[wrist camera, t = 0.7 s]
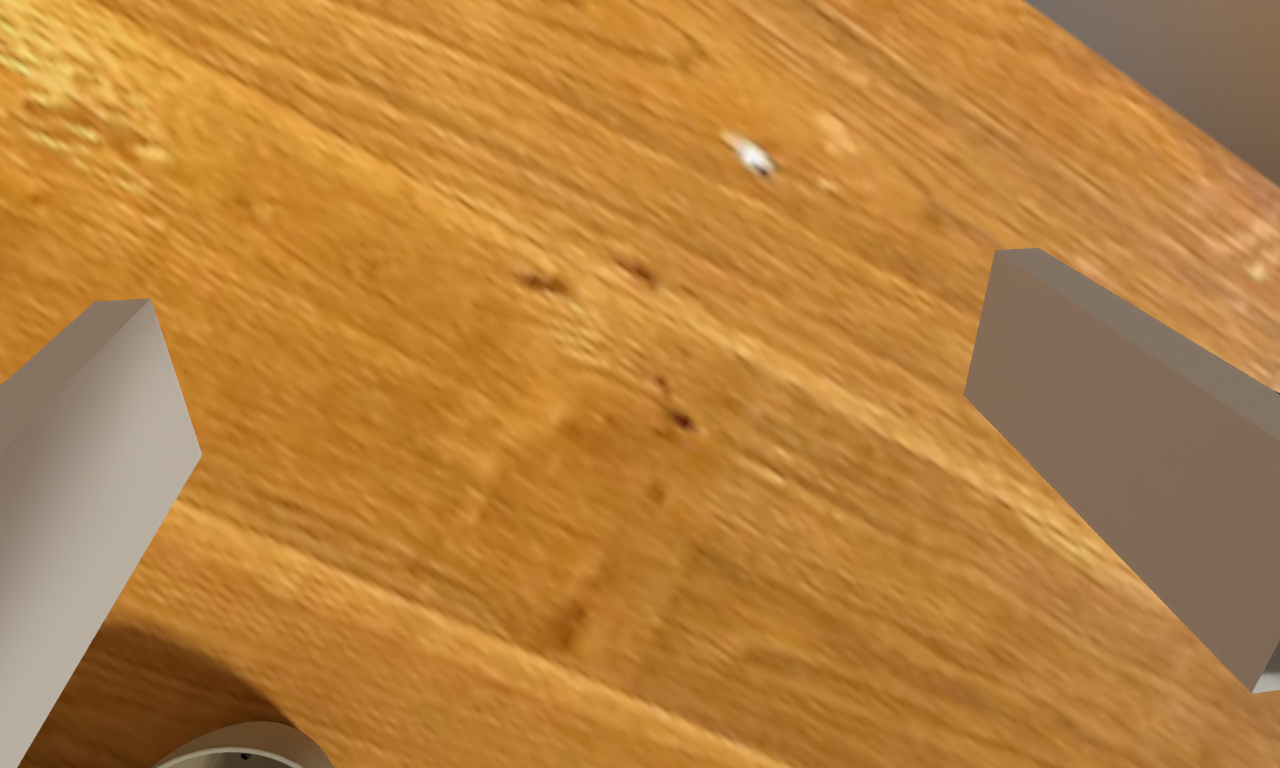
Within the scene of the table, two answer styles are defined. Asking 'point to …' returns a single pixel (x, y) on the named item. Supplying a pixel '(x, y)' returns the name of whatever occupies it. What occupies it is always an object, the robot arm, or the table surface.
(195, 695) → the table surface
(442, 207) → the table surface
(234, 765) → the flower pot
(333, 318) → the table surface
